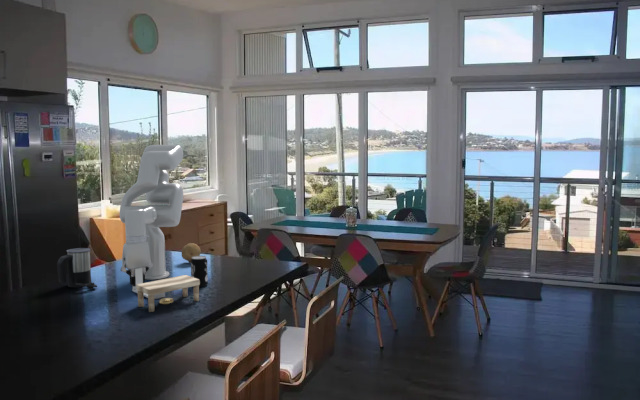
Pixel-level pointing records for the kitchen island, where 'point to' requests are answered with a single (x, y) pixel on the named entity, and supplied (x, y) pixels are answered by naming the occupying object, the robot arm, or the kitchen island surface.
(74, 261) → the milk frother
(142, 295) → the low shelf
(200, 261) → the beverage can
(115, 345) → the kitchen island surface
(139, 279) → the white l-shaped block
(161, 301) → the gold metal disc
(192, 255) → the natural sponge
